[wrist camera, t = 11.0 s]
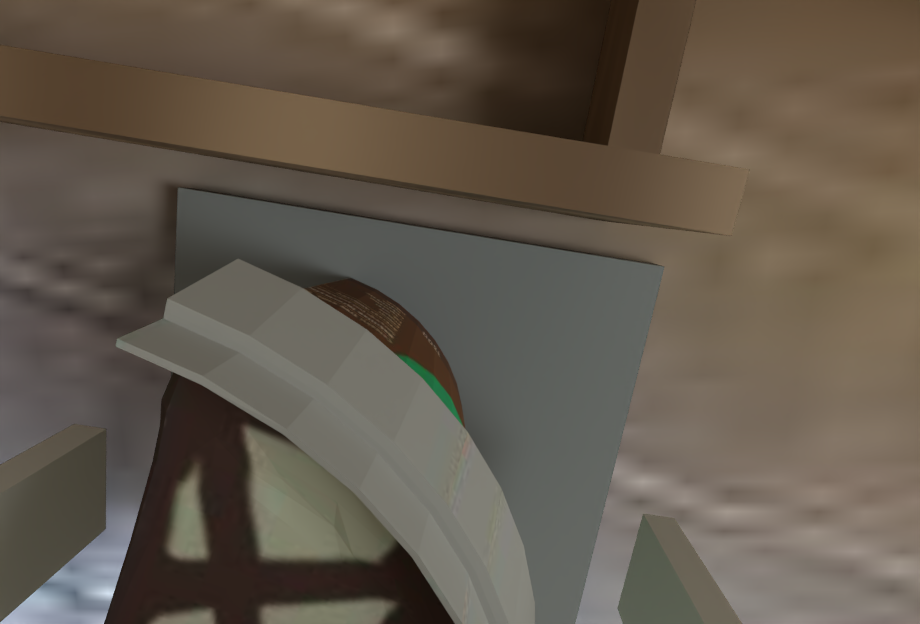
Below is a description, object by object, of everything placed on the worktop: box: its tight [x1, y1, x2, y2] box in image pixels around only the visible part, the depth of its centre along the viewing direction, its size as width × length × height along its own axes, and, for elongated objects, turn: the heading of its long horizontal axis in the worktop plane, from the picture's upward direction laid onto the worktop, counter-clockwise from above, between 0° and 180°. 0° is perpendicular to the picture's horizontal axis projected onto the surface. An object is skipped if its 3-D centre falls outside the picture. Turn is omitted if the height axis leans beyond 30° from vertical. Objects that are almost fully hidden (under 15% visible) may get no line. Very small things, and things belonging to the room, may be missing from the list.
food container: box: [104, 259, 535, 624], centre depth 11 cm, size 12×6×10 cm, turn 159°
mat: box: [171, 187, 664, 624], centre depth 16 cm, size 14×14×1 cm
